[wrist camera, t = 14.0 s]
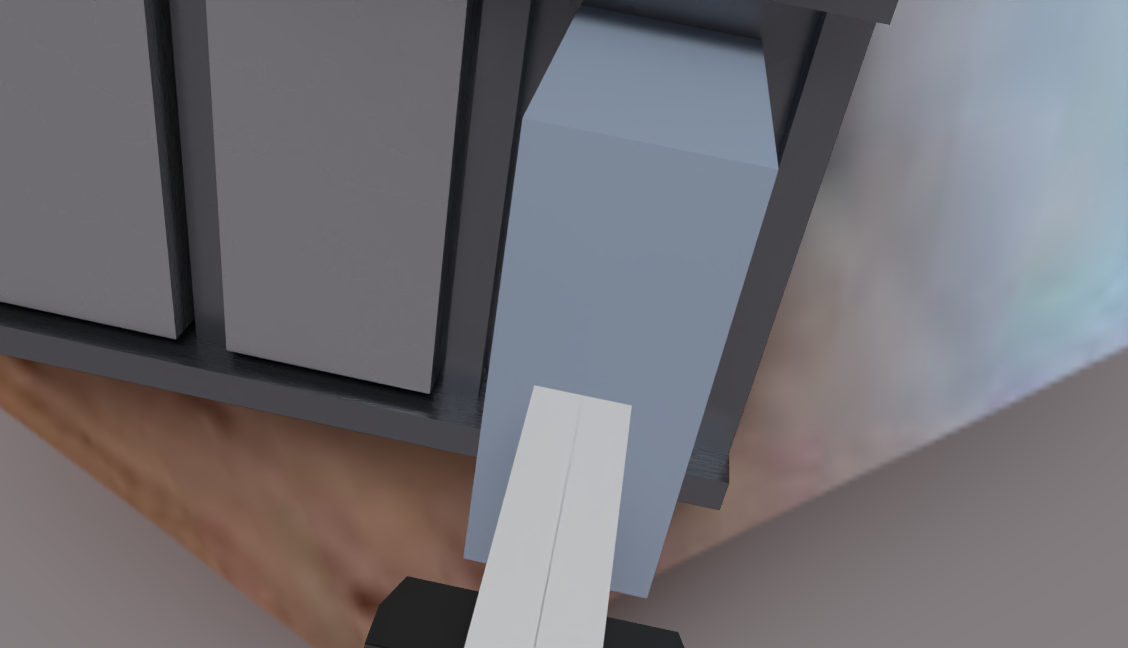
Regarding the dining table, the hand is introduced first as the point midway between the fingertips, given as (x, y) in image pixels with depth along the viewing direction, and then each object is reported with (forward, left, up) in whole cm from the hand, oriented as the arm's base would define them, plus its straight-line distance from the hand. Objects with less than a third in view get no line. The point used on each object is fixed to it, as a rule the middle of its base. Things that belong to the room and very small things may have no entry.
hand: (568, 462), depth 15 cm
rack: (-7, 0, -11) cm, 13 cm away
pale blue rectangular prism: (0, -1, -10) cm, 10 cm away
